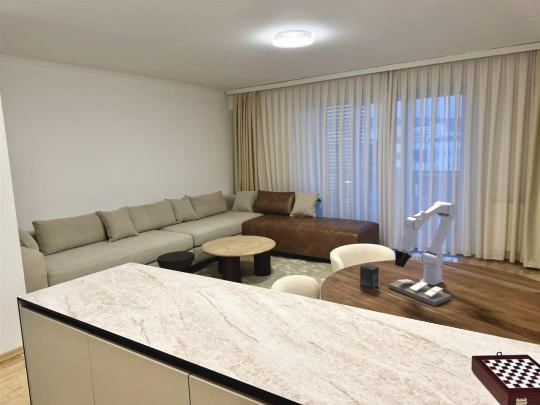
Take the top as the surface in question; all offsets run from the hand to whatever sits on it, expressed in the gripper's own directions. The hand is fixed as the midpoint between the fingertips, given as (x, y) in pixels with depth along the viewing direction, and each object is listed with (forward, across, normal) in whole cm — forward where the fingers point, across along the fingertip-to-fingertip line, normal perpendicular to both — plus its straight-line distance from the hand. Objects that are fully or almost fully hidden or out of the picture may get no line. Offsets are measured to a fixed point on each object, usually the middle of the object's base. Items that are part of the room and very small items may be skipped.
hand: (399, 266), depth 180 cm
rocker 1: (+6, -9, +3) cm, 11 cm away
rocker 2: (+6, -6, +10) cm, 13 cm away
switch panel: (+10, -7, +11) cm, 16 cm away
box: (+15, -4, -13) cm, 20 cm away
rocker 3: (+6, -3, +18) cm, 19 cm away
